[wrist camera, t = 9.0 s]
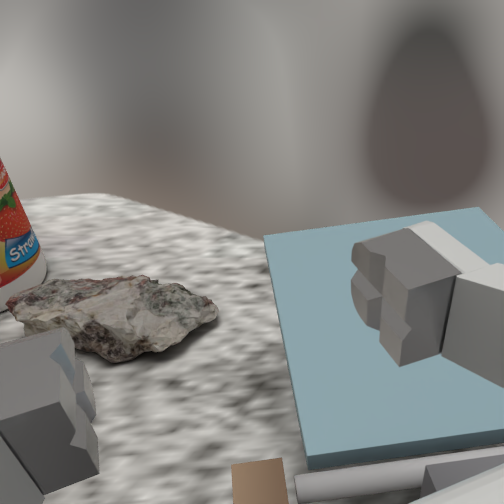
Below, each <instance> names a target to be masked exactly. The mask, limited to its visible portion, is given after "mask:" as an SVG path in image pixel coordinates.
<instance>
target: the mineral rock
mask: <svg viewBox="0 0 504 504" xmlns="http://www.w3.org/2000/svg"><path fill="white" fill-rule="evenodd" d="M5 305H6V306H7V307H8V309H9V311H10V312H11V313H12V314H13V316H15V319H16V321H20V322H22V323H24V324H25V325H24V331H25V335H26V336H27V337H28V336H31V335H35V334H39V333H43V332H46V331H50V330H54V329H58V328H61V327H64V328H66V329H67V330H68V332H69V334H70V336H71V338H72V340H73V341H74V343H75V348H77V349H79V350H82V351H84V352H97V353H98V354H99V355H101V356H102V357H104V358H105V359H107V360H108V361H110V362H112V363H117V362H123V361H128V360H133V359H134V358H136V357H137V356H138V355H140V354H142V353H143V352H147V351H153V352H162V351H163V350H165V349H166V348H168V347H169V346H170V345H175V344H178V343H179V342H181V340H182V339H183V338H184V337H185V336H186V335H187V334H188V333H189V332H190V331H191V330H193V329H195V328H198V327H200V326H201V325H202V324H203V323H206V322H211V321H212V320H214V319H215V318H216V315H217V313H218V312H219V310H218V307H217V306H216V305H215V304H214V303H213V302H212V300H210V299H207V297H206V296H204V297H201V296H197V295H195V294H191V292H190V291H188V290H186V289H185V287H184V286H183V285H180V284H178V283H172V284H169V283H168V284H163V285H162V284H158V280H150V278H149V277H147V276H144V275H140V276H137V277H136V276H133V275H132V276H130V277H126V276H120V277H117V278H107V279H103V280H92V279H79V280H59V279H52V280H49V281H47V282H46V283H44V284H39V285H37V286H35V287H32V288H29V289H26V290H23V291H20V292H18V293H16V294H14V295H12V296H11V297H10V298H9V300H8V301H7V302H6V304H5Z"/></svg>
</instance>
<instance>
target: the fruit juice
mask: <svg viewBox="0 0 504 504" xmlns="http://www.w3.org/2000/svg"><path fill="white" fill-rule="evenodd" d="M46 272H47V264H46V260H45V256H44V254H43V251H42V249H41V247H40V245H39V242H38V240H37V238H36V236H35V234H34V231H33V229H32V227H31V225H30V222H29V220H28V218H27V216H26V214H25V211H24V209H23V207H22V205H21V202H20V200H19V198H18V196H17V194H16V191H15V189H14V187H13V185H12V183H11V180H10V178H9V176H8V174H7V171H6V169H5V167H4V165H3V163H2V160H1V158H0V312H1V311H4V310H6V309H8V307H7V306H6V305H5V304H6V302H7V301H8V300H9V298H10V297H11V296H12V295H14V294H16V293H18V292H20V291H23V290H26V289H29V288H32V287H35V286H37V285H39V284H41V283H42V282H43V280H44V278H45V276H46Z"/></svg>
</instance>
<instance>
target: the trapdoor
mask: <svg viewBox="0 0 504 504" xmlns="http://www.w3.org/2000/svg"><path fill="white" fill-rule="evenodd" d="M423 221H430V222H434V223H435V224H437V225H438V226H439V227H441V228H442V229H443V230H445V231H446V232H447V233H448V234H450V235H451V236H452V237H454V238H455V239H456V240H458V241H459V242H460V243H462V244H463V245H464V246H466V247H467V248H468V249H470V250H471V251H472V252H474V253H475V254H476V255H477V256H479V257H480V258H481V259H483V260H484V261H485V262H487V263H488V264H489V265H492V264H495V263H500V264H504V231H503V230H502V229H501V228H500V227H498V226H497V225H496V224H495V223H494V222H493V221H492V220H491V219H490V218H489V217H488V216H487V215H486V214H485V213H484V212H483V211H482V210H481V209H480V208H479V207H474V208H468V209H459V210H452V211H444V212H437V213H429V214H422V215H414V216H407V217H399V218H392V219H384V220H377V221H369V222H363V223H355V224H347V225H340V226H332V227H325V228H317V229H310V230H302V231H295V232H287V233H280V234H272V235H265V236H264V245H265V252H266V257H267V262H268V267H269V272H270V277H271V282H272V287H273V293H274V298H275V303H276V308H277V313H278V318H279V323H280V329H281V334H282V339H283V344H284V349H285V354H286V359H287V364H288V370H289V375H290V380H291V385H292V390H293V395H294V400H295V405H296V411H297V416H298V421H299V426H300V431H301V436H302V441H303V446H304V452H305V457H306V462H307V467H308V470H312V469H320V468H327V467H334V466H341V465H348V464H355V463H363V462H370V461H377V460H384V459H391V458H398V457H406V456H413V455H420V454H427V453H434V452H441V451H448V450H456V449H463V448H470V447H477V446H484V445H491V444H499V443H504V388H502V387H500V386H498V385H496V384H494V383H492V382H490V381H488V380H486V379H484V378H483V377H481V376H479V375H477V374H475V373H473V372H471V371H469V370H467V369H465V368H463V367H461V366H459V365H457V364H455V363H454V362H452V361H450V360H448V359H446V358H444V357H442V356H441V354H439V355H436V356H433V357H429V358H426V359H423V360H420V361H417V362H414V363H411V364H408V365H405V366H402V367H399V366H398V365H397V364H396V363H395V361H394V360H393V359H392V358H391V356H390V355H389V354H388V353H387V351H386V350H385V349H384V347H383V346H382V345H381V344H380V342H379V335H380V331H378V330H376V329H373V328H371V327H368V326H366V324H365V323H364V322H363V320H362V319H361V318H360V316H359V314H358V312H357V310H356V309H355V306H354V303H353V299H352V295H351V279H352V277H353V276H354V274H355V273H356V271H357V270H358V269H357V267H356V266H355V265H354V264H353V263H352V262H351V255H352V248H353V246H354V243H356V242H360V241H363V240H367V239H370V238H373V237H377V236H380V235H383V234H387V233H390V232H394V231H397V230H401V229H402V228H404V227H408V226H411V225H414V224H417V223H420V222H423ZM503 463H504V446H500V447H493V448H486V449H479V450H472V451H465V452H458V453H450V454H443V455H436V456H429V457H422V458H415V459H407V460H400V461H393V462H386V463H379V464H372V465H365V466H357V467H350V468H343V469H336V470H329V471H322V472H315V473H307V474H300V475H294V480H295V487H296V494H297V500H298V504H305V503H313V502H320V501H327V500H334V499H341V498H348V497H355V496H362V495H370V494H377V493H384V492H391V491H398V490H405V489H412V488H419V487H421V493H420V498H419V499H421V498H423V497H425V496H428V495H430V494H432V493H435V492H437V491H439V490H442V489H444V488H447V487H449V486H451V485H454V484H456V483H458V482H461V481H463V480H466V479H468V478H470V477H473V476H475V475H477V474H480V473H482V472H484V471H487V470H489V469H492V468H494V467H496V466H499V465H501V464H503Z"/></svg>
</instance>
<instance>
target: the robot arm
mask: <svg viewBox="0 0 504 504" xmlns="http://www.w3.org/2000/svg"><path fill="white" fill-rule="evenodd" d="M351 262H352V263H353V264H354V265H355V266H356V267H357V269H358V270H357V271H356V273H355V274H354V276H353V277H352V279H351V295H352V299H353V303H354V306H355V309H356V310H357V312H358V314H359V316H360V318H361V319H362V320H363V322H364V323H365V324H366V326H368V327H371V328H373V329H376V330H378V331H380V335H379V342H380V344H381V345H382V346H383V347H384V349H385V350H386V351H387V353H388V354H389V355H390V356H391V358H392V359H393V360H394V361H395V363H396V364H397V365H398V366H399V367H402V366H405V365H408V364H411V363H414V362H417V361H420V360H423V359H426V358H429V357H433V356H436V355H439V354H441V356H442V357H444V358H446V359H448V360H450V361H452V362H454V363H455V364H457V365H459V366H461V367H463V368H465V369H467V370H469V371H471V372H473V373H475V374H477V375H479V376H481V377H483V378H484V379H486V380H488V381H490V382H492V383H494V384H496V385H498V386H500V387H502V388H504V264H500V263H495V264H492V265H489V264H488V263H487V262H485V261H484V260H483V259H481V258H480V257H479V256H477V255H476V254H475V253H474V252H472V251H471V250H470V249H468V248H467V247H466V246H464V245H463V244H462V243H460V242H459V241H458V240H456V239H455V238H454V237H452V236H451V235H450V234H448V233H447V232H446V231H445V230H443V229H442V228H441V227H439V226H438V225H437V224H435V223H434V222H430V221H423V222H420V223H417V224H414V225H411V226H408V227H404V228H402V229H401V230H397V231H394V232H390V233H387V234H383V235H380V236H377V237H373V238H370V239H367V240H363V241H360V242H356V243H354V246H353V248H352V255H351ZM95 416H96V406H95V398H94V393H93V388H92V383H91V380H90V377H89V374H88V372H87V369H86V367H85V365H84V363H83V362H82V361H80V360H78V359H76V358H75V343H74V341H73V340H72V338H71V336H70V334H69V332H68V330H67V329H66V328H64V327H61V328H58V329H54V330H50V331H46V332H43V333H39V334H35V335H31V336H28V337H24V338H20V339H16V340H13V341H9V342H5V343H1V344H0V504H42V503H43V501H44V499H45V497H44V496H43V495H46V494H48V493H51V492H53V491H56V490H59V489H61V488H64V487H66V486H69V485H72V484H74V483H77V482H79V481H82V480H85V479H87V478H90V477H92V476H95V475H98V474H100V473H99V454H98V437H97V435H96V433H95V431H94V429H93V427H92V425H91V423H92V421H93V419H94V418H95ZM409 504H504V463H503V464H501V465H499V466H496V467H494V468H492V469H489V470H487V471H484V472H482V473H480V474H477V475H475V476H473V477H470V478H468V479H466V480H463V481H461V482H458V483H456V484H454V485H451V486H449V487H447V488H444V489H442V490H439V491H437V492H435V493H432V494H430V495H428V496H425V497H423V498H421V499H418V500H416V501H413V502H411V503H409Z"/></svg>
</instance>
